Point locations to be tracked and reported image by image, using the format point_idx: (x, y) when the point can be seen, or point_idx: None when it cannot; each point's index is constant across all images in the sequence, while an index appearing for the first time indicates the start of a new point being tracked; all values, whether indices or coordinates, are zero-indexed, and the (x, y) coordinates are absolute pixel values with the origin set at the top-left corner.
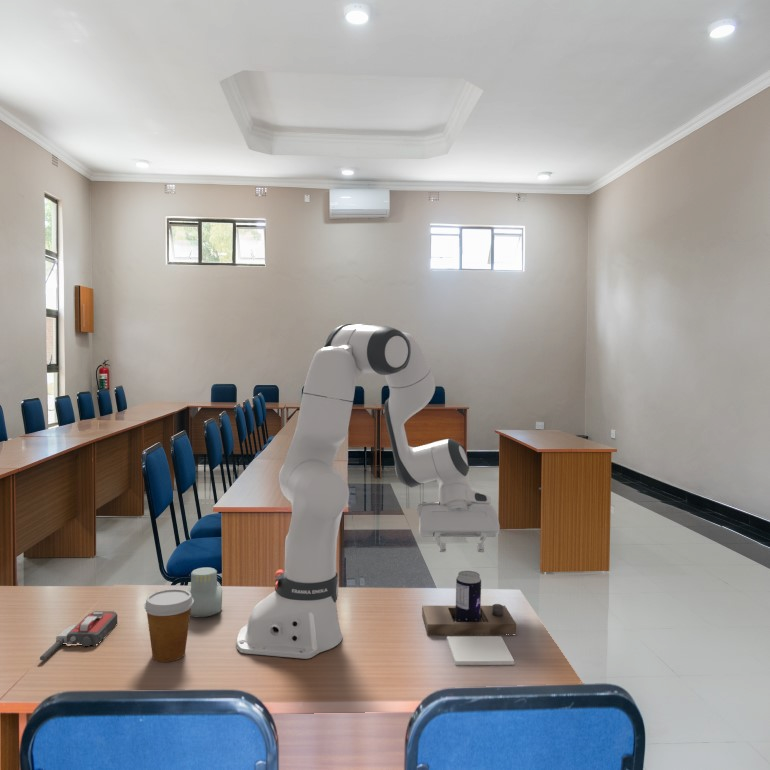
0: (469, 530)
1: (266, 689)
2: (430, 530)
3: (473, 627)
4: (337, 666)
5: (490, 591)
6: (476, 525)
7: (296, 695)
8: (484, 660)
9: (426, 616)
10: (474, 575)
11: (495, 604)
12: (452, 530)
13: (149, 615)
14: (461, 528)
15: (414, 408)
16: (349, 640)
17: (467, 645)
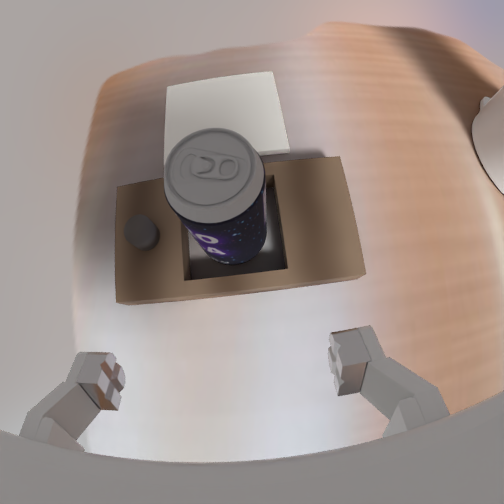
0: (115, 458)
1: (477, 56)
2: (488, 400)
3: None
4: (442, 80)
5: None
6: (44, 484)
7: (447, 41)
8: (219, 78)
9: (347, 200)
10: (185, 171)
11: (141, 239)
12: (290, 459)
13: None
14: (187, 479)
15: None
16: (464, 149)
17: (245, 117)
